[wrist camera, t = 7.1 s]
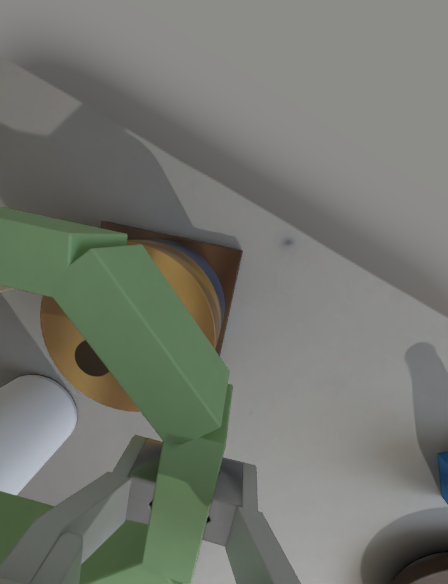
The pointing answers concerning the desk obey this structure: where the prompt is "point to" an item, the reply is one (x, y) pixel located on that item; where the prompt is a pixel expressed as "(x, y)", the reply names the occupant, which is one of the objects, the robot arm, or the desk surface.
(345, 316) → the desk surface
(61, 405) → the mug
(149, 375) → the ring
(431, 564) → the plant saucer
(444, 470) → the perfume bottle
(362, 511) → the desk surface
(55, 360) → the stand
